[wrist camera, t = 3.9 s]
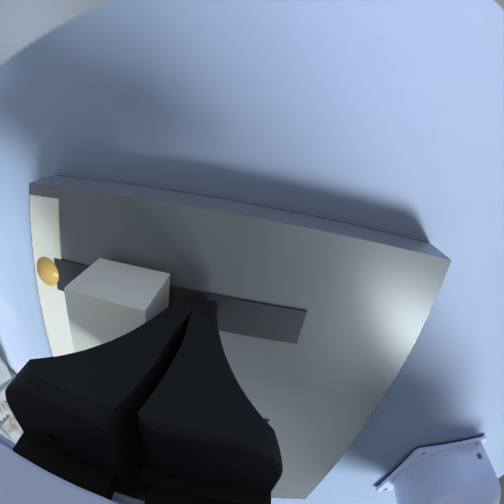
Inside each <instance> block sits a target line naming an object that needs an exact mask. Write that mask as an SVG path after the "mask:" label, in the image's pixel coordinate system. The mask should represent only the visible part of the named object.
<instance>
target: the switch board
mask: <svg viewBox="0 0 504 504" xmlns="http://www.w3.org/2000/svg"><path fill="white" fill-rule="evenodd" d="M29 203H30V225H31V239H32V249H33V259H34V267H35V274H36V281H37V287H38V293H39V299H40V304H41V310H42V315H43V319H44V324H45V328H46V333H47V337H48V341H49V345H50V349H51V352H52V356H53V357H55V356H61V355H66V354H70V353H75V351H74V346H73V341H72V336H71V331H70V325H69V320H68V314H67V307H66V300H65V293H64V288H65V287H66V286H67V285H68V284H69V283H70V282H72V281H73V280H74V279H75V278H76V277H77V276H79V275H80V274H81V273H82V272H83V271H85V270H86V269H87V268H88V267H89V266H91V265H92V264H93V263H94V262H95V261H97V260H98V259H99V258H102V259H106V260H111V261H115V262H119V263H124V264H128V265H133V266H137V267H142V268H147V269H151V270H156V271H161V272H165V273H170V286H169V305H168V307H169V306H170V305H171V304H173V303H174V302H175V301H176V300H178V299H179V298H180V297H182V296H183V295H189V296H194V297H199V298H204V299H209V300H214V301H216V302H217V303H218V308H217V324H218V329H219V334H220V339H221V342H222V346H223V349H224V352H225V355H226V358H227V360H228V363H229V365H230V367H231V370H232V372H233V374H234V376H235V378H236V380H237V381H238V383H239V385H240V386H241V388H242V389H243V391H244V393H245V394H246V396H247V397H248V399H249V400H250V402H251V403H252V404H253V406H254V407H255V408H256V410H257V411H258V412H259V414H260V415H261V416H262V417H263V418H264V419H265V421H266V422H267V423H268V424H269V425H270V426H271V427H272V428H273V429H274V431H275V434H276V437H277V440H278V444H279V448H280V452H281V457H282V464H283V472H282V475H281V478H280V479H279V481H278V483H277V484H276V486H275V487H274V489H273V490H272V492H271V497H272V498H291V499H306V498H307V496H308V495H309V494H310V493H311V492H312V491H313V490H314V489H315V488H316V487H317V485H318V484H319V483H320V482H321V481H322V480H323V479H324V477H325V476H326V475H327V474H328V473H329V472H330V470H331V469H332V468H333V467H334V465H335V464H336V463H337V462H338V461H339V459H340V458H341V457H342V455H343V454H344V453H345V452H346V450H347V449H348V448H349V446H350V445H351V444H352V442H353V441H354V440H355V438H356V437H357V436H358V434H359V433H360V432H361V430H362V429H363V427H364V426H365V424H366V423H367V422H368V420H369V419H370V417H371V416H372V414H373V413H374V411H375V410H376V408H377V407H378V405H379V404H380V402H381V401H382V399H383V397H384V396H385V394H386V393H387V391H388V389H389V388H390V386H391V384H392V383H393V381H394V379H395V378H396V376H397V374H398V373H399V371H400V369H401V367H402V366H403V364H404V362H405V360H406V358H407V357H408V355H409V353H410V351H411V349H412V347H413V345H414V343H415V341H416V340H417V338H418V336H419V334H420V332H421V330H422V328H423V325H424V323H425V321H426V319H427V317H428V315H429V313H430V311H431V308H432V306H433V304H434V302H435V299H436V297H437V295H438V292H439V290H440V288H441V285H442V283H443V280H444V278H445V275H446V273H447V270H448V268H449V265H450V262H451V260H450V259H449V258H448V257H447V256H445V255H444V254H443V253H442V252H440V251H439V250H438V249H437V248H435V247H434V246H433V245H432V244H430V243H426V242H422V241H418V240H414V239H410V238H406V237H402V236H398V235H394V234H390V233H386V232H382V231H377V230H373V229H369V228H364V227H360V226H356V225H351V224H347V223H342V222H338V221H333V220H329V219H324V218H319V217H314V216H310V215H305V214H300V213H295V212H290V211H285V210H280V209H275V208H270V207H264V206H259V205H254V204H248V203H243V202H237V201H232V200H226V199H220V198H215V197H209V196H203V195H197V194H191V193H184V192H178V191H172V190H165V189H158V188H152V187H145V186H138V185H131V184H123V183H116V182H108V181H100V180H92V179H83V178H75V177H66V176H56V175H55V176H51V177H48V178H44V179H41V180H38V181H34V182H31V183H29Z"/></svg>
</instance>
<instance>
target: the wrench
mask: <svg viewBox="0 0 504 504" xmlns="http://www.w3.org/2000/svg"><path fill="white" fill-rule="evenodd" d="M16 375H17V374H15V373H14V372H12V371H11V370H9V369H8V368H7V365H6V363H5V362H4V361H3V360H2V359H1V358H0V434H2V435H3V436H5V437H6V438H8V439H9V440H11V441H12V442H14V443H15V444H16V443H17V441H18V440H19V438H20V437H21V435H22V434H23V430H22V429H21V427H20V425H19V424H18V422H17V420H16V418H15V417H14V415H13V413H12V411H11V409H10V408H9V405H8V403H7V401H6V396H5V390H6V388H7V386H8V385H9V384H10V383H11V381H12V380H13V379H14V378H15V376H16Z"/></svg>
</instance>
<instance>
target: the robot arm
mask: <svg viewBox="0 0 504 504" xmlns="http://www.w3.org/2000/svg"><path fill="white" fill-rule="evenodd" d="M217 308H218V303H217V302H216V301H214V300H209V299H204V298H199V297H194V296H189V295H183V296H182V297H180V298H179V299H178V300H176V301H175V302H174V303H173V304H171V305H170V306H169V307H167V308H166V309H165V310H163V311H162V312H160V313H159V314H158V315H156V316H155V317H153V318H152V319H150V320H149V321H147V322H146V323H144V324H142V325H141V326H139V327H138V328H136V329H134V330H132V331H131V332H129V333H127V334H125V335H123V336H120V337H118V338H116V339H114V340H112V341H109V342H106V343H103V344H101V345H98V346H95V347H92V348H89V349H86V350H82V351H79V352H75V353H70V354H66V355H61V356H55V357H48V358H40V359H30V360H29V361H28V362H27V364H26V365H25V366H24V367H23V368H22V369H21V370H20V372H19V373H18V374H17V375H16V376H15V378H14V379H13V380H12V381H11V383H10V384H9V385H8V386H7V388H6V390H5V396H6V401H7V403H8V405H9V408H10V409H11V411H12V413H13V415H14V417H15V418H16V420H17V422H18V424H19V425H20V427H21V429H22V430H23V434H22V435H21V437H20V438H19V440H18V441H17V443H16V444H15V443H14V442H12V441H11V440H9V439H8V438H6V437H5V436H3V435H2V434H0V504H271V492H272V490H273V489H274V487H275V486H276V484H277V483H278V481H279V479H280V478H281V475H282V472H283V464H282V457H281V452H280V448H279V444H278V440H277V437H276V434H275V431H274V429H273V428H272V427H271V426H270V425H269V424H268V423H267V422H266V421H265V419H264V418H263V417H262V416H261V415H260V414H259V412H258V411H257V410H256V408H255V407H254V406H253V404H252V403H251V402H250V400H249V399H248V397H247V396H246V394H245V393H244V391H243V389H242V388H241V386H240V385H239V383H238V381H237V380H236V378H235V376H234V374H233V372H232V370H231V367H230V365H229V363H228V360H227V358H226V355H225V352H224V349H223V346H222V342H221V339H220V334H219V329H218V324H217ZM486 440H487V438H486V436H482V437H478V438H473V439H469V440H464V441H459V442H454V443H448V444H442V445H436V446H429V447H421V448H417V449H416V450H414V451H413V452H412V453H411V454H410V455H409V456H408V457H407V458H406V460H405V461H404V462H403V463H402V464H401V465H400V466H399V467H398V468H397V469H396V470H395V471H394V472H392V473H391V474H390V475H389V476H388V477H387V478H386V479H385V480H384V481H383V482H382V483H381V484H380V485H379V486H377V487H376V492H382V491H390V490H394V491H395V495H396V499H397V504H499V501H500V495H501V489H500V484H499V481H498V479H497V476H496V474H495V472H494V469H493V467H492V465H491V463H490V460H489V458H488V456H487V454H486V452H485V449H484V447H483V445H482V444H483V443H484V442H485V441H486Z"/></svg>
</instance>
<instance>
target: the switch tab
mask: <svg viewBox="0 0 504 504" xmlns="http://www.w3.org/2000/svg"><path fill="white" fill-rule="evenodd" d="M169 286H170V273H165V272H161V271H156V270H151V269H147V268H142V267H137V266H133V265H128V264H124V263H119V262H115V261H111V260H106V259H102V258H99V259H98V260H97V261H95V262H94V263H93V264H92V265H91V266H89V267H88V268H87V269H86V270H85V271H83V272H82V273H81V274H80V275H79V276H77V277H76V278H75V279H74V280H73V281H72V282H70V283H69V284H68V285H67V286H66V287H65V288H64V293H65V300H66V307H67V314H68V320H69V325H70V331H71V336H72V341H73V346H74V351H75V352H79V351H82V350H86V349H89V348H92V347H95V346H98V345H101V344H103V343H106V342H109V341H112V340H114V339H116V338H118V337H120V336H123V335H125V334H127V333H129V332H131V331H132V330H134V329H136V328H138V327H139V326H141V325H142V324H144V323H146V322H147V321H149V320H150V319H152V318H153V317H155V316H156V315H158V314H159V313H160V312H162V311H163V310H165V309H166V308H167V307H168V305H169Z"/></svg>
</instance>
